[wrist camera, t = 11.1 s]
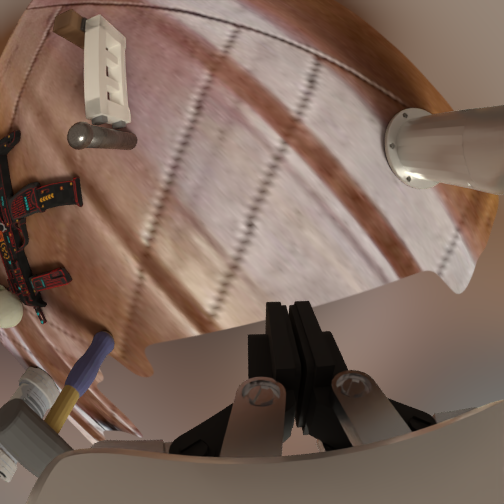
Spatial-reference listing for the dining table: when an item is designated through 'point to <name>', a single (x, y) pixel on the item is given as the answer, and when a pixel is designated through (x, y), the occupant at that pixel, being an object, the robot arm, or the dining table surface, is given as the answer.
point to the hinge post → (99, 137)
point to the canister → (38, 399)
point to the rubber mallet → (50, 413)
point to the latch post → (71, 27)
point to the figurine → (9, 309)
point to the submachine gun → (7, 231)
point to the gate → (95, 78)
